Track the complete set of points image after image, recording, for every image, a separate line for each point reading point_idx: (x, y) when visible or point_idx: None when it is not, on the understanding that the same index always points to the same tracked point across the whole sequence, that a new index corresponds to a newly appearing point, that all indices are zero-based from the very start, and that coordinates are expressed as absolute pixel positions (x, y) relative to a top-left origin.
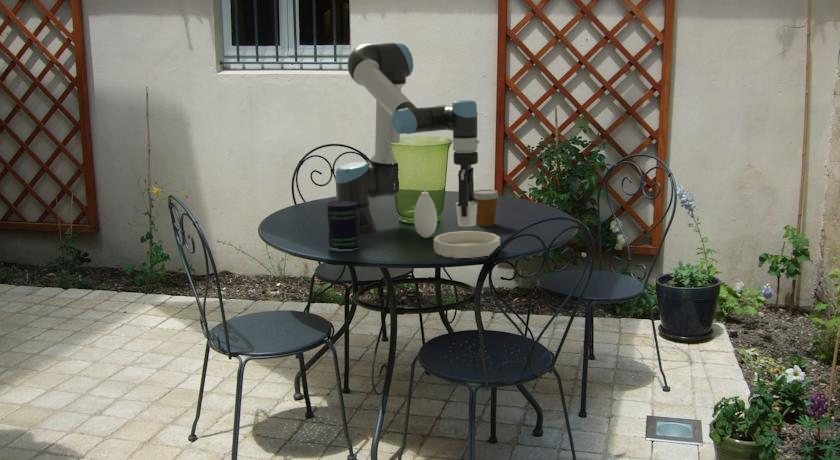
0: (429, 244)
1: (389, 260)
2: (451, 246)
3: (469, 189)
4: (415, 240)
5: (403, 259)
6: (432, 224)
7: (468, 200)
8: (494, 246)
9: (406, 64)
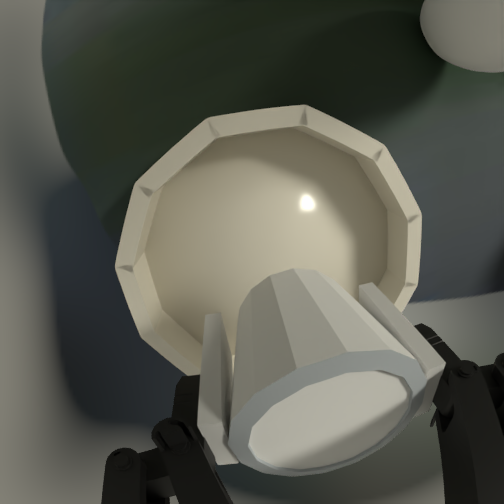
0: (338, 64)
1: (43, 41)
2: (117, 260)
3: (452, 492)
4: (380, 4)
5: (62, 73)
6: (457, 53)
7: (440, 392)
8: None
9: None
